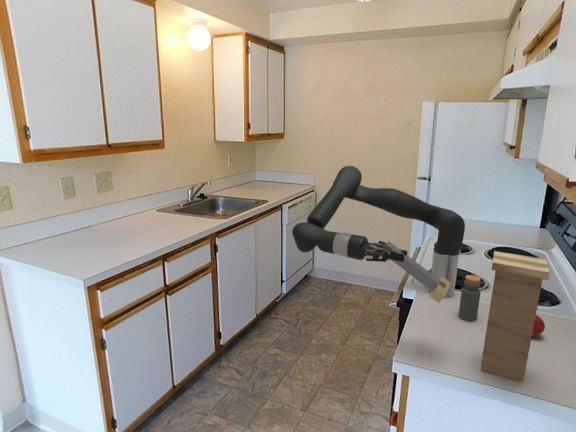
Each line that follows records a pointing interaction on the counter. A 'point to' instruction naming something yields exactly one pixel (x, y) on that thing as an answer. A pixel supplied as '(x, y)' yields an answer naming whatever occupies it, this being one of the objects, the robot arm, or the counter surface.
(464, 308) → the bottle
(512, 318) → the wooden stand
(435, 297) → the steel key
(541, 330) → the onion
